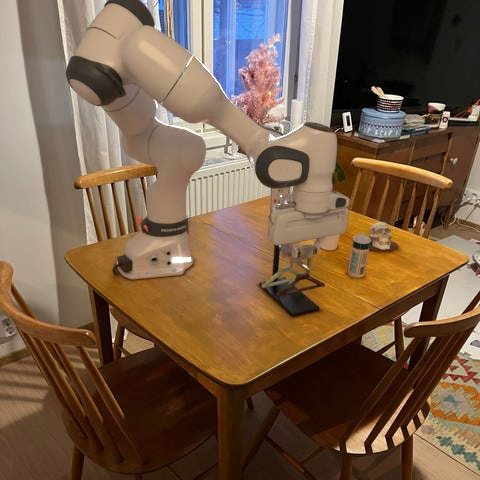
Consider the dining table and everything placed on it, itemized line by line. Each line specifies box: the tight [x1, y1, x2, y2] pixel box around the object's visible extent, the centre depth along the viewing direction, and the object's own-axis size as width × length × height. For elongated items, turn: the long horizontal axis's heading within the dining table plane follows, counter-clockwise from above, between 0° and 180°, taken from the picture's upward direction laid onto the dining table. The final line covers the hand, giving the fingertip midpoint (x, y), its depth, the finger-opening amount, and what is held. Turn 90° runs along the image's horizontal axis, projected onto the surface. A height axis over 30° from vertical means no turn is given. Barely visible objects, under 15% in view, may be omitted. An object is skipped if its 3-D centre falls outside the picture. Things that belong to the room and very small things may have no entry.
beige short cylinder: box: [319, 234, 341, 251], centre depth 157 cm, size 7×7×7 cm
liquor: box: [268, 187, 291, 219], centre depth 169 cm, size 7×7×28 cm
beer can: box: [347, 233, 371, 279], centre depth 139 cm, size 5×5×12 cm
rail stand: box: [258, 244, 321, 318], centre depth 127 cm, size 8×18×13 cm, turn 26°
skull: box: [368, 221, 399, 252], centre depth 160 cm, size 12×10×10 cm
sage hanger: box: [261, 244, 304, 289], centre depth 127 cm, size 14×1×12 cm, turn 116°
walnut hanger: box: [277, 243, 326, 297], centre depth 120 cm, size 14×1×12 cm, turn 116°
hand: (305, 255), depth 118 cm, fingers closed on walnut hanger, 4 cm apart
